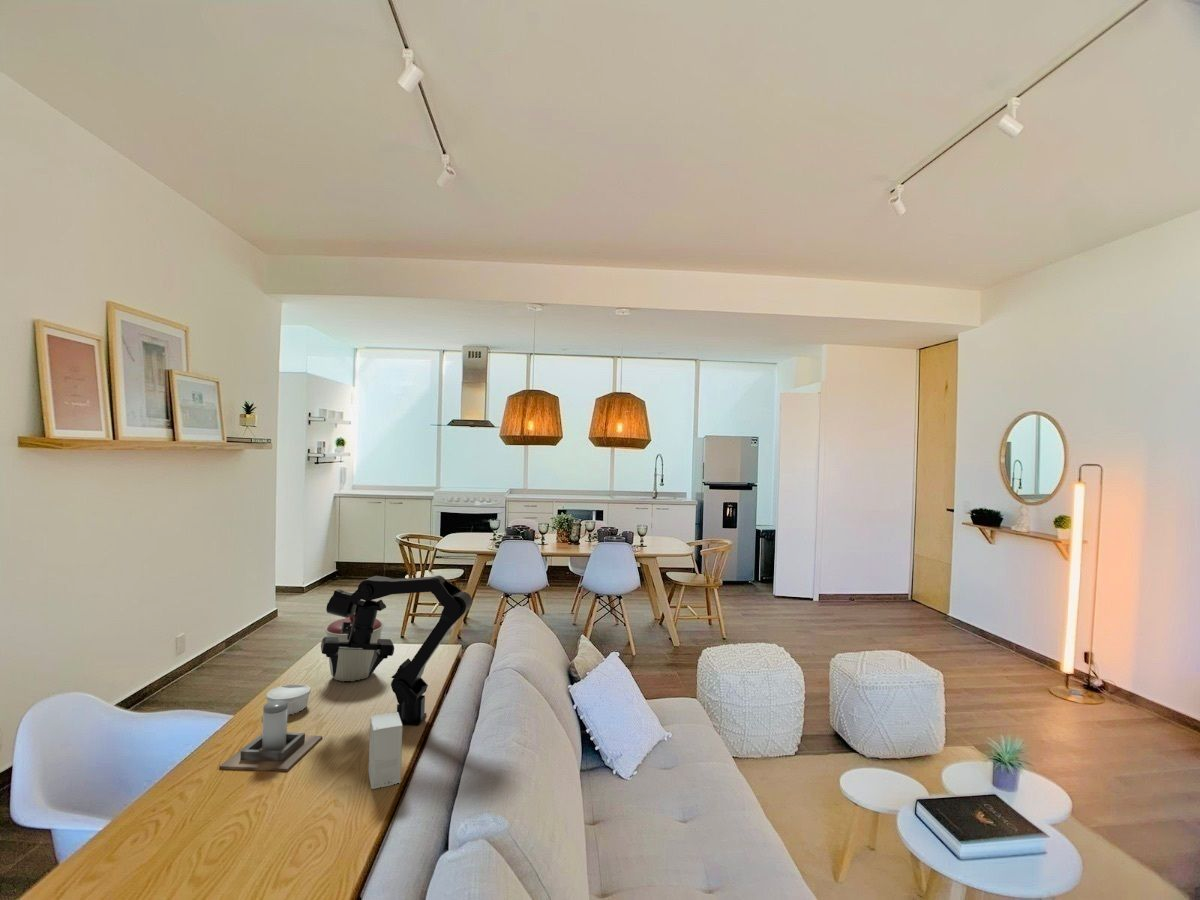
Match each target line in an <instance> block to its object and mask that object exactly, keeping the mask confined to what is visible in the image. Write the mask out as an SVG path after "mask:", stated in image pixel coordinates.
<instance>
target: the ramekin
mask: <svg viewBox="0 0 1200 900" xmlns="http://www.w3.org/2000/svg"><path fill="white" fill-rule="evenodd" d="M311 691H312V689H311V687H310V686H309V685H306V684H300V683H299V684H298V683H295V684H294V683H293V684H284V685H281V686H280V685H279V686H277V687H274V688H272V689H270V690H269V691H268V692H267V693H266V696H265V699H266V701H267V703H269V702H272V701H278V700H283V701H287V702H288V710H287V716H290V715H289V714H292V715H295V714H294V713H296V714H298V713H300V712H299V711H301V710H302V711H303V709H304V708H305V709H306V707H307V706H308V701H309V698H310V694H311ZM305 709H304V710H305ZM302 711H301V712H302ZM297 712H298V713H297Z"/></svg>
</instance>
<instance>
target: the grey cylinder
mask: <svg viewBox="0 0 1200 900" xmlns="http://www.w3.org/2000/svg"><path fill="white" fill-rule="evenodd" d="M262 708H263V710H262V711H263V712H262V733H261V734H262V750H274V751H281V750H282V749H283V748H284V747H286V736H287V731H288V730H287V729H288V727H287V726H288V715H287V710H288V702H287V701H283V700H278V701H272V702H269V703H268V702H267V703H265V704H264V705H263V707H262Z"/></svg>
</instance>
